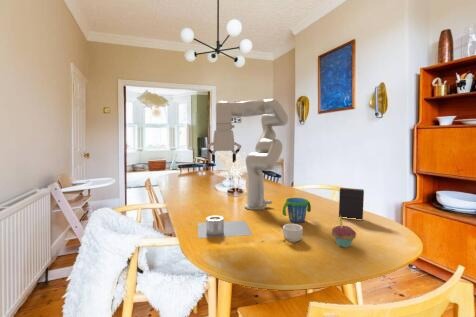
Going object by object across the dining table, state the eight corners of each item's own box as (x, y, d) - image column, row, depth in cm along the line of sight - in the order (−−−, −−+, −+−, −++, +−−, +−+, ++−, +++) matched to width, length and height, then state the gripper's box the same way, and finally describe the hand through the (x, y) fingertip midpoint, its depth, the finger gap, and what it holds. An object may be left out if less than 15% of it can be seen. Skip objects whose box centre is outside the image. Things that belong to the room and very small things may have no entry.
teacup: (299, 245, 100) (300, 231, 99) (280, 241, 103) (280, 228, 103) (305, 236, 109) (305, 223, 108) (287, 233, 112) (287, 221, 112)
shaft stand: (245, 223, 124) (245, 209, 124) (252, 238, 107) (252, 221, 106) (198, 226, 121) (197, 211, 120) (198, 241, 103) (197, 224, 103)
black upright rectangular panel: (362, 218, 132) (363, 189, 131) (362, 221, 128) (363, 190, 127) (339, 215, 137) (340, 187, 135) (338, 218, 133) (339, 188, 132)
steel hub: (222, 228, 113) (222, 215, 113) (224, 235, 106) (224, 220, 106) (206, 229, 112) (206, 216, 112) (206, 236, 105) (206, 221, 105)
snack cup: (288, 225, 122) (288, 204, 121) (277, 218, 132) (277, 198, 131) (316, 222, 127) (317, 201, 126) (304, 215, 137) (304, 196, 136)
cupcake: (344, 251, 95) (345, 218, 94) (326, 242, 103) (327, 212, 101) (360, 246, 99) (361, 215, 98) (342, 238, 107) (343, 209, 105)
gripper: (240, 127, 133) (240, 161, 134) (205, 127, 130) (206, 162, 132) (242, 127, 125) (242, 163, 127) (206, 127, 123) (206, 163, 124)
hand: (223, 162), depth 129 cm, fingers open, 9 cm apart
